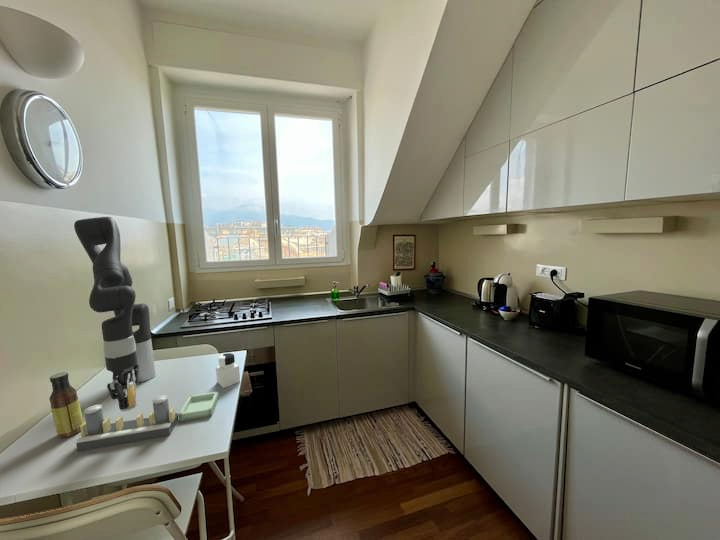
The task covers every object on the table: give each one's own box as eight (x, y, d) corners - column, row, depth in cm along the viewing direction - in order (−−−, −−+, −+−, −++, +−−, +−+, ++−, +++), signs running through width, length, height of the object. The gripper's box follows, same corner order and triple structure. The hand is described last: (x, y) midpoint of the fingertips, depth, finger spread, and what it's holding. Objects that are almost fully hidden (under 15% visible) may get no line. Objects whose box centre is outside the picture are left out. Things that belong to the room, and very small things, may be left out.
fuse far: (158, 419, 97) (155, 396, 96) (172, 417, 98) (169, 394, 97) (153, 426, 93) (150, 403, 92) (167, 424, 94) (164, 400, 93)
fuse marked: (124, 405, 94) (121, 381, 93) (138, 403, 95) (135, 379, 94) (117, 412, 90) (114, 387, 89) (132, 410, 91) (129, 385, 90)
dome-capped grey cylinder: (93, 429, 92) (89, 405, 91) (108, 427, 93) (104, 403, 92) (84, 438, 88) (80, 413, 87) (100, 435, 89) (96, 411, 88)
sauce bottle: (82, 423, 100) (73, 367, 97) (86, 431, 96) (76, 372, 93) (54, 434, 95) (44, 375, 92) (57, 442, 91) (46, 381, 88)
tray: (189, 402, 111) (189, 395, 110) (218, 397, 113) (218, 391, 113) (179, 421, 99) (178, 414, 99) (211, 416, 102) (210, 409, 101)
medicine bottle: (233, 376, 130) (231, 350, 129) (240, 381, 125) (238, 354, 124) (216, 382, 125) (214, 355, 124) (223, 388, 120) (220, 360, 119)
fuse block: (93, 433, 94) (90, 416, 93) (179, 419, 100) (177, 403, 99) (76, 451, 86) (73, 432, 86) (170, 435, 92) (168, 417, 92)
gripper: (118, 344, 96) (125, 394, 98) (91, 363, 82) (100, 420, 84) (145, 341, 98) (151, 390, 100) (122, 359, 84) (130, 415, 86)
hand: (128, 403), depth 92 cm, fingers closed on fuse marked, 4 cm apart
